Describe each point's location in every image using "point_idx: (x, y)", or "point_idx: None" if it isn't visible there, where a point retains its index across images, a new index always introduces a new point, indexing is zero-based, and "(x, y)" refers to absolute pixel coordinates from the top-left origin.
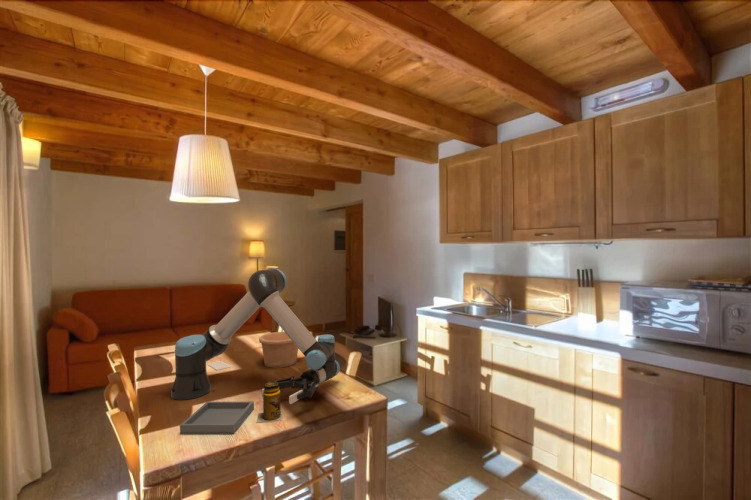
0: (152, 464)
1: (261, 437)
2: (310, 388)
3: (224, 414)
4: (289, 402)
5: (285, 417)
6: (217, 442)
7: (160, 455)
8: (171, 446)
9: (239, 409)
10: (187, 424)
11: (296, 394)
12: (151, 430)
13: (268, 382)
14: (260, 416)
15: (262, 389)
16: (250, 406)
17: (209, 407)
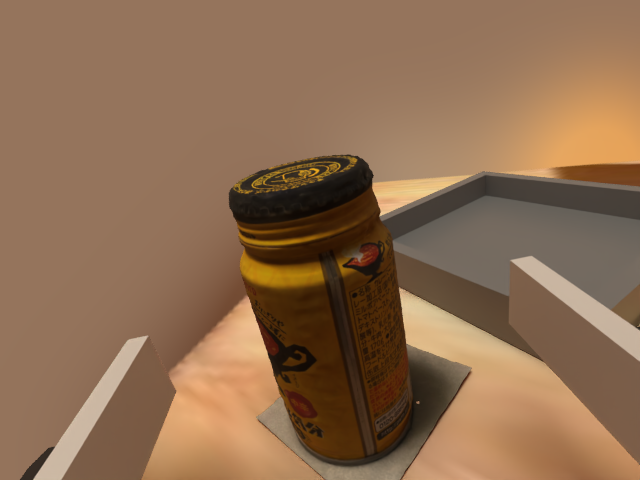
0: (376, 185)
1: (240, 302)
2: None
3: (553, 256)
4: (167, 382)
5: (253, 461)
6: None
7: (399, 187)
8: (424, 193)
9: None
10: (472, 178)
11: (83, 422)
12: (565, 171)
13: (359, 162)
14: (414, 361)
15: (529, 258)
16: None
17: None
